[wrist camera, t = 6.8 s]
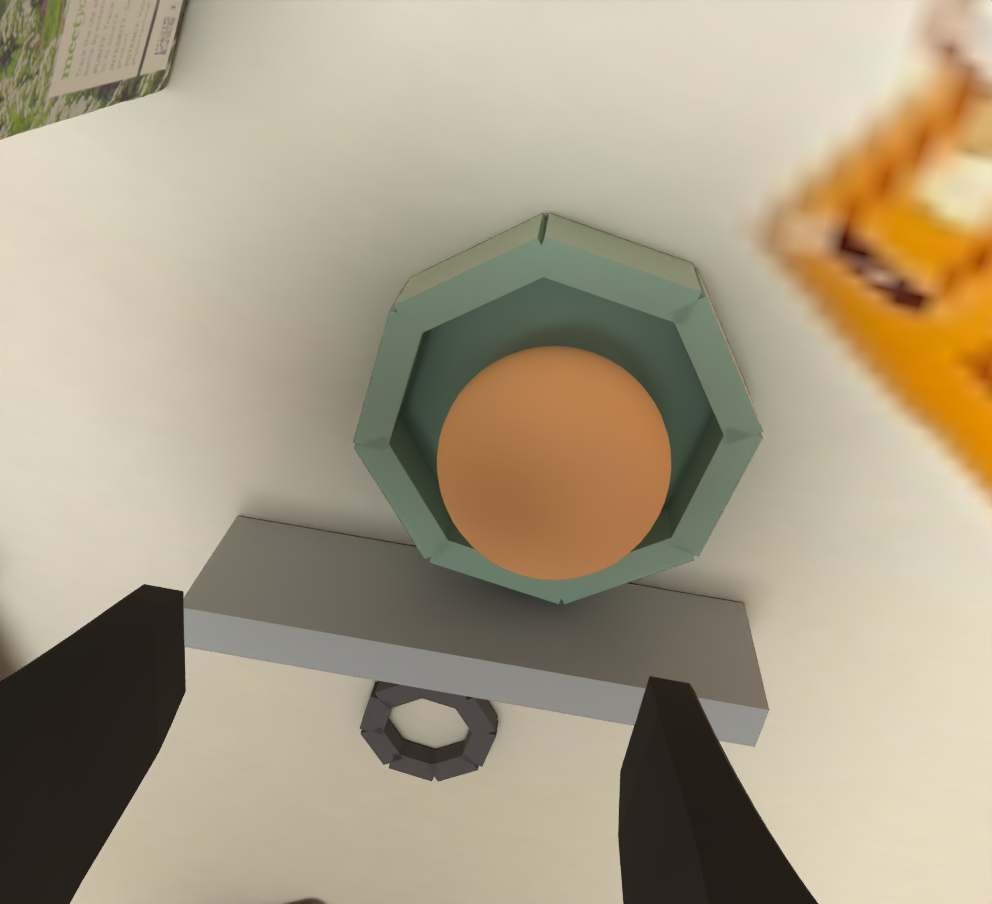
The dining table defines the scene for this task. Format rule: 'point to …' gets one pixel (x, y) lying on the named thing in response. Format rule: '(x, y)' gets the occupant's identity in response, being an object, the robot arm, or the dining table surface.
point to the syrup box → (81, 56)
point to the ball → (554, 462)
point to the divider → (468, 629)
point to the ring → (420, 757)
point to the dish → (573, 323)
